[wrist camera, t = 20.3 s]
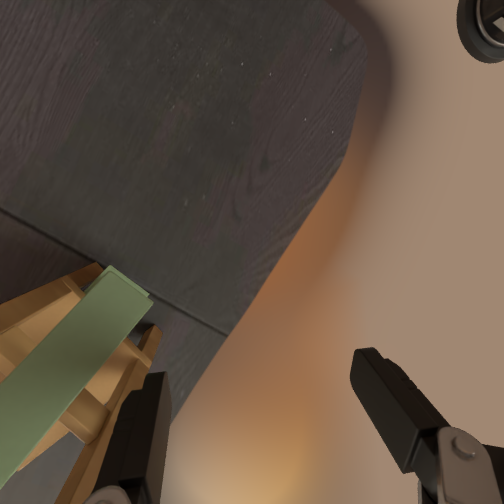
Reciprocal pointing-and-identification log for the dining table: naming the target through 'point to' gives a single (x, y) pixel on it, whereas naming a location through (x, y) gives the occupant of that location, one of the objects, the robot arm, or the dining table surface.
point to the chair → (98, 388)
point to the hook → (65, 364)
